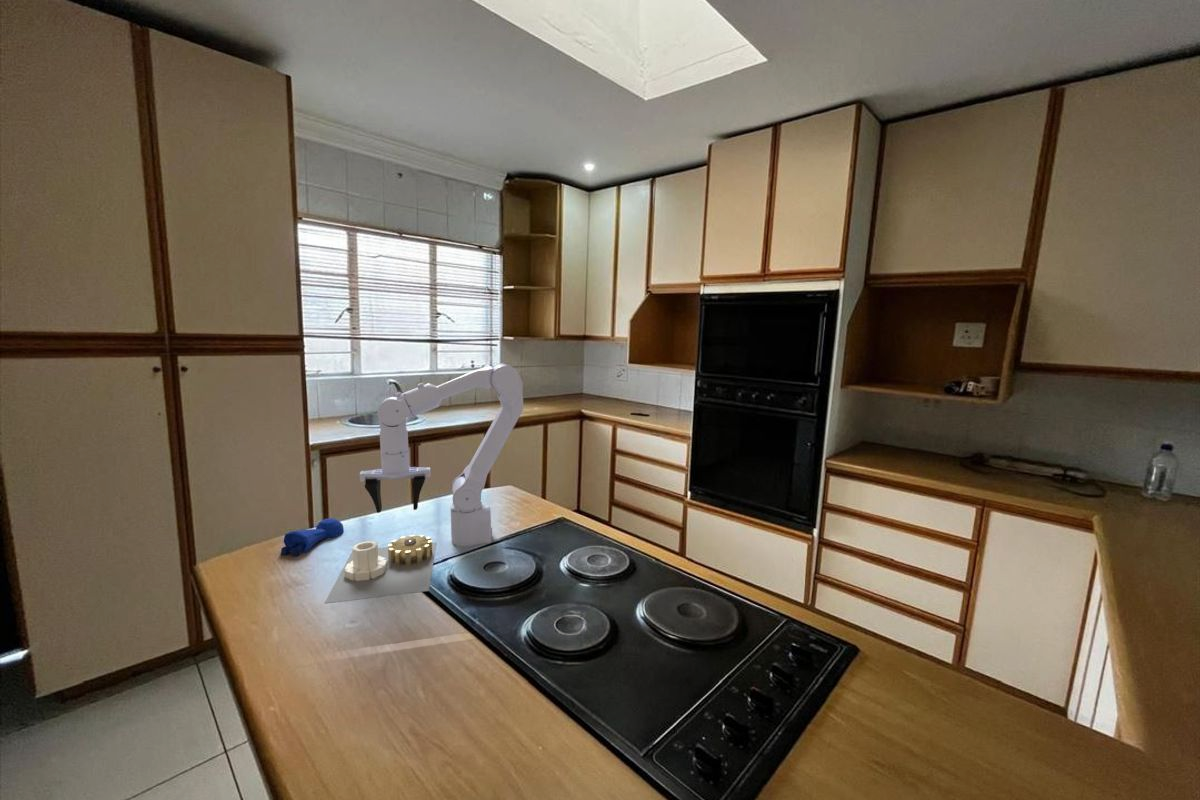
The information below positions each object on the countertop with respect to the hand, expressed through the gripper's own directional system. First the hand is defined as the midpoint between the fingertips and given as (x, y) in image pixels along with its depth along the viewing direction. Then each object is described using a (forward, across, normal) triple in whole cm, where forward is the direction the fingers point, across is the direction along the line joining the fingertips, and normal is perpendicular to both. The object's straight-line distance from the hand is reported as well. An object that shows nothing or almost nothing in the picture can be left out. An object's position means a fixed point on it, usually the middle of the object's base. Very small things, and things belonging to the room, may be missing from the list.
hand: (397, 509), depth 109 cm
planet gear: (+9, -5, -10) cm, 14 cm away
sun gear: (+9, +3, -5) cm, 11 cm away
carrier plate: (+10, -1, -10) cm, 14 cm away
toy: (+10, -20, +8) cm, 23 cm away
